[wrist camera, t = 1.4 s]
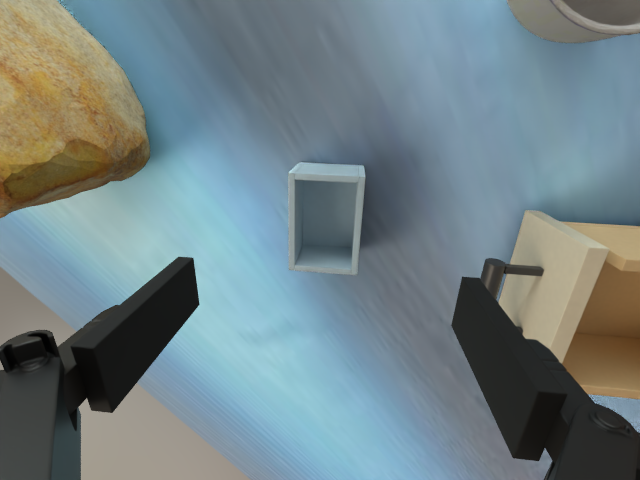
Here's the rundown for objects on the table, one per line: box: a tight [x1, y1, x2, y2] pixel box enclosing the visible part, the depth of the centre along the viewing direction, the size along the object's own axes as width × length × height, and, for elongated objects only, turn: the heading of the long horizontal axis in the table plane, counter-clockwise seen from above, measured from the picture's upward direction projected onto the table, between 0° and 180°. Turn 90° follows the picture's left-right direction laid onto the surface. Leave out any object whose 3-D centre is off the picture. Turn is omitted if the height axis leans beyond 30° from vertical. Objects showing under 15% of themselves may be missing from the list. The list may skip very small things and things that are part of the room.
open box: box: [288, 162, 366, 275], centre depth 27 cm, size 8×6×5 cm
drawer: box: [480, 210, 640, 399], centre depth 25 cm, size 18×12×8 cm
